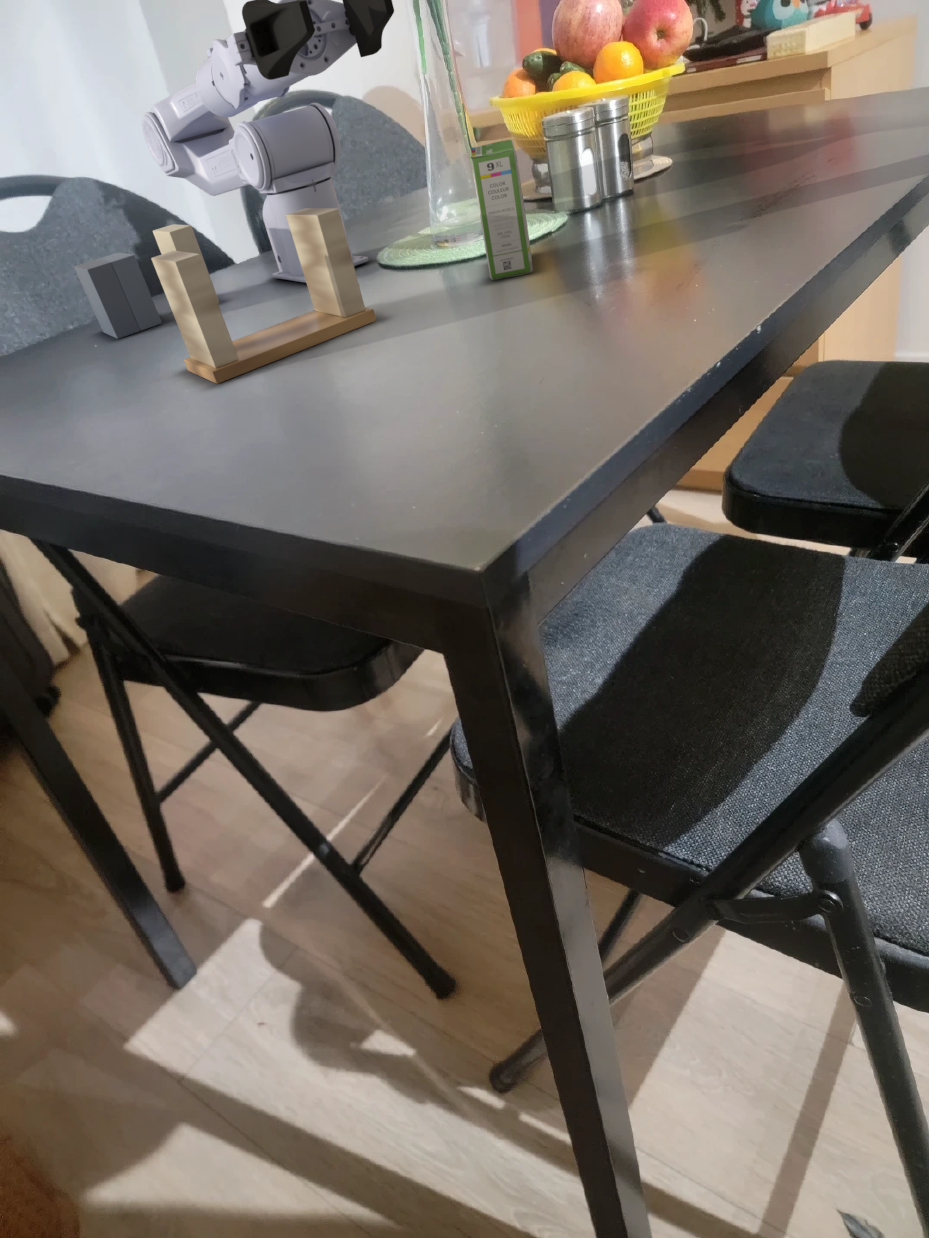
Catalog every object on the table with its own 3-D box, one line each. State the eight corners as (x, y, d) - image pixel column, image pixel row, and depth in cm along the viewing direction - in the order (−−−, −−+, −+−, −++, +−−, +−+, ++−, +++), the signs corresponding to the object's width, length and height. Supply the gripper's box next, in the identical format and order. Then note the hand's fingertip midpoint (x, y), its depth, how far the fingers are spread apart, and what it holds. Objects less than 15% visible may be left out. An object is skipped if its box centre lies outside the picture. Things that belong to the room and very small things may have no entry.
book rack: (187, 371, 70) (142, 259, 64) (339, 312, 75) (308, 206, 70) (217, 384, 64) (170, 264, 59) (376, 320, 70) (347, 206, 65)
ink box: (535, 273, 72) (508, 96, 65) (490, 282, 73) (458, 108, 65) (531, 255, 78) (506, 91, 70) (490, 264, 78) (461, 102, 71)
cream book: (181, 305, 94) (152, 230, 89) (201, 298, 95) (173, 224, 90) (198, 310, 90) (169, 232, 85) (219, 303, 90) (191, 225, 86)
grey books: (103, 332, 90) (73, 266, 86) (146, 317, 92) (118, 252, 88) (117, 339, 86) (86, 269, 82) (162, 323, 88) (134, 254, 84)
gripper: (195, 11, 72) (249, -39, 62) (336, -17, 78) (407, -68, 67) (227, 103, 76) (283, 70, 65) (359, 69, 82) (431, 34, 71)
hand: (348, 7), depth 67 cm, fingers open, 7 cm apart
